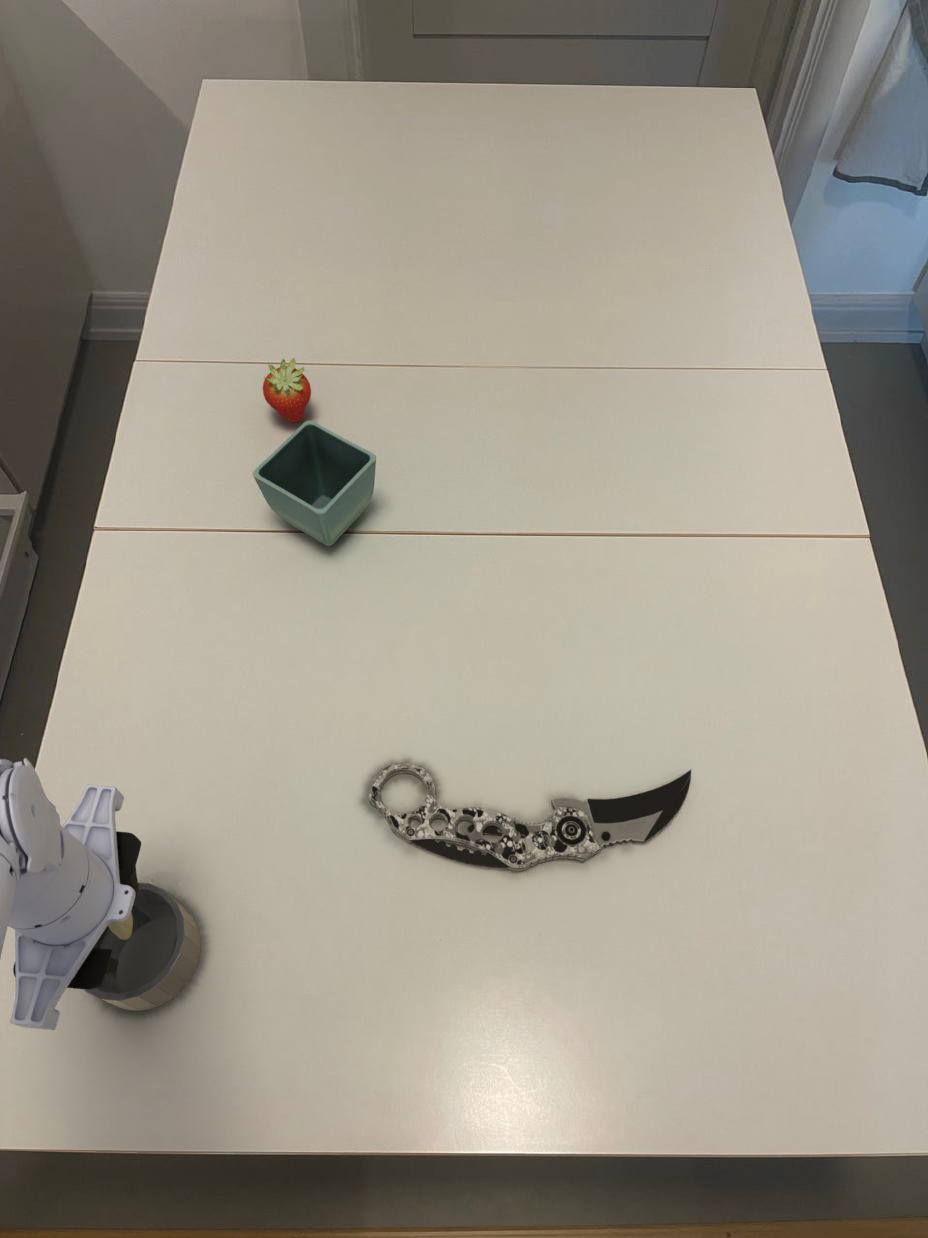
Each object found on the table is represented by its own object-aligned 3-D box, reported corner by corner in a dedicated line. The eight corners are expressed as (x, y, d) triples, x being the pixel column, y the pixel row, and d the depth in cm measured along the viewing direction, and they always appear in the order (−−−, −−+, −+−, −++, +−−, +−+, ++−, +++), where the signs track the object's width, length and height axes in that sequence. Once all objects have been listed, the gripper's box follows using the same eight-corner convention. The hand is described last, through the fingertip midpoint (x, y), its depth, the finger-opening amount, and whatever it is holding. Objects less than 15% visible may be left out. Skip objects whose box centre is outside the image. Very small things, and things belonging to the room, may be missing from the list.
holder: (186, 1015, 68) (167, 1005, 64) (79, 1005, 68) (52, 994, 64) (211, 904, 73) (195, 887, 68) (110, 895, 73) (87, 877, 68)
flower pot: (265, 529, 92) (249, 472, 85) (319, 475, 96) (308, 417, 88) (331, 569, 90) (321, 514, 82) (383, 512, 94) (378, 455, 86)
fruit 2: (277, 441, 99) (265, 388, 92) (264, 408, 101) (251, 354, 94) (321, 429, 100) (312, 375, 93) (307, 396, 102) (298, 342, 95)
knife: (693, 765, 78) (704, 877, 73) (689, 773, 80) (699, 883, 74) (374, 748, 79) (360, 857, 73) (375, 755, 80) (362, 864, 74)
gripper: (66, 1022, 47) (141, 1048, 59) (141, 765, 54) (194, 833, 66) (-64, 1009, 47) (36, 1037, 59) (28, 755, 55) (101, 825, 66)
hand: (113, 929), depth 62 cm, fingers closed on fruit 1, 4 cm apart
